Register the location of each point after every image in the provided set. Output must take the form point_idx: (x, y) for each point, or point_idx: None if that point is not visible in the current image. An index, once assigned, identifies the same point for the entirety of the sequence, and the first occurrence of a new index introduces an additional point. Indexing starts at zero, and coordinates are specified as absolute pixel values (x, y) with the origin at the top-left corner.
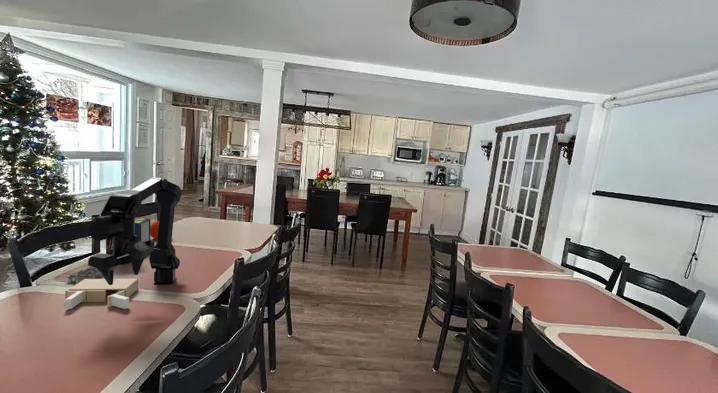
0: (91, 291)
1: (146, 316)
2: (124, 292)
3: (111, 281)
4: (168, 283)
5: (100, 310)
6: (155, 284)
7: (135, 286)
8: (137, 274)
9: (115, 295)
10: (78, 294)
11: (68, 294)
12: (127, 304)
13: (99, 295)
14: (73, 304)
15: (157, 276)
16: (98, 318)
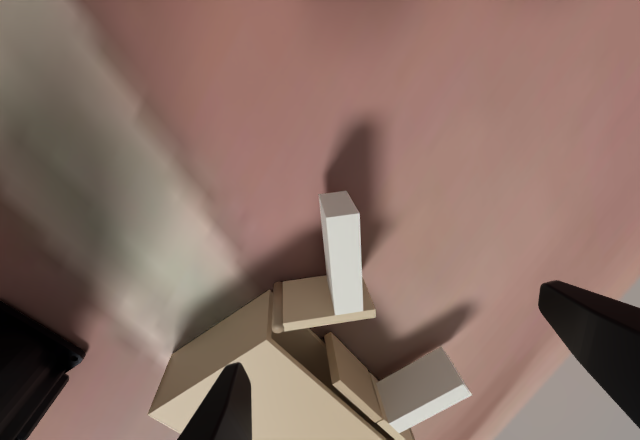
0: (371, 406)
1: (318, 13)
2: (283, 316)
3: (610, 300)
4: (3, 318)
5: (385, 276)
6: (75, 351)
7: (183, 366)
8: (230, 365)
9: (347, 301)
10: (416, 407)
11: (409, 433)
12: (332, 199)
13: (348, 370)
14: (434, 362)
15: (28, 398)
16: (439, 211)
